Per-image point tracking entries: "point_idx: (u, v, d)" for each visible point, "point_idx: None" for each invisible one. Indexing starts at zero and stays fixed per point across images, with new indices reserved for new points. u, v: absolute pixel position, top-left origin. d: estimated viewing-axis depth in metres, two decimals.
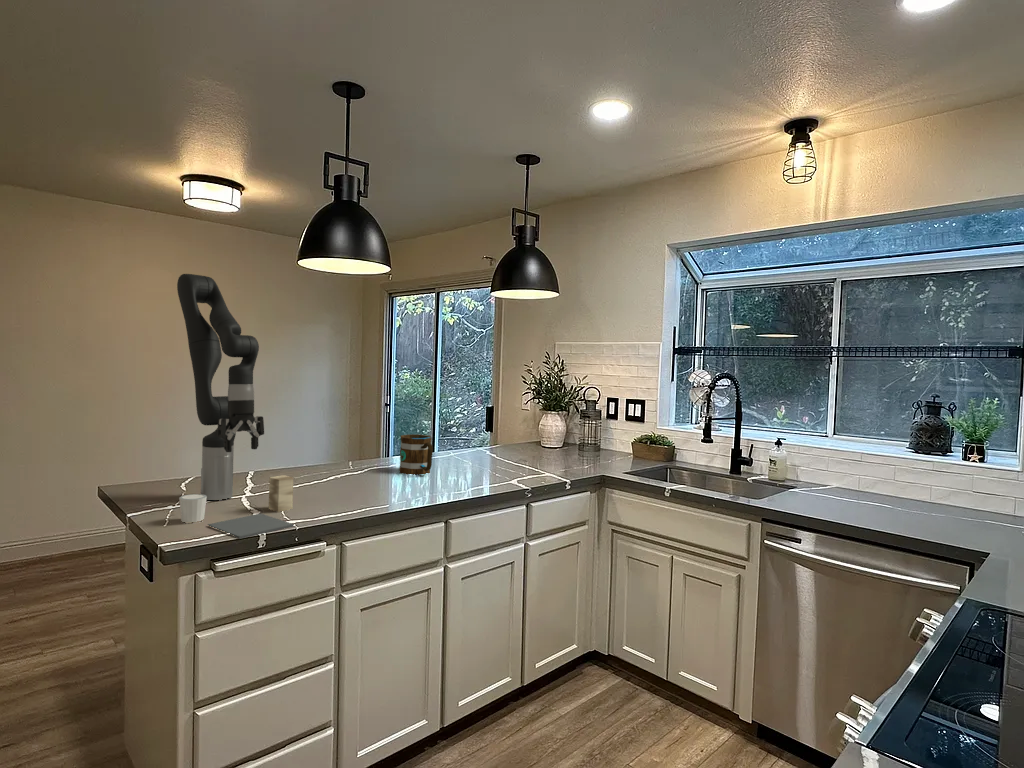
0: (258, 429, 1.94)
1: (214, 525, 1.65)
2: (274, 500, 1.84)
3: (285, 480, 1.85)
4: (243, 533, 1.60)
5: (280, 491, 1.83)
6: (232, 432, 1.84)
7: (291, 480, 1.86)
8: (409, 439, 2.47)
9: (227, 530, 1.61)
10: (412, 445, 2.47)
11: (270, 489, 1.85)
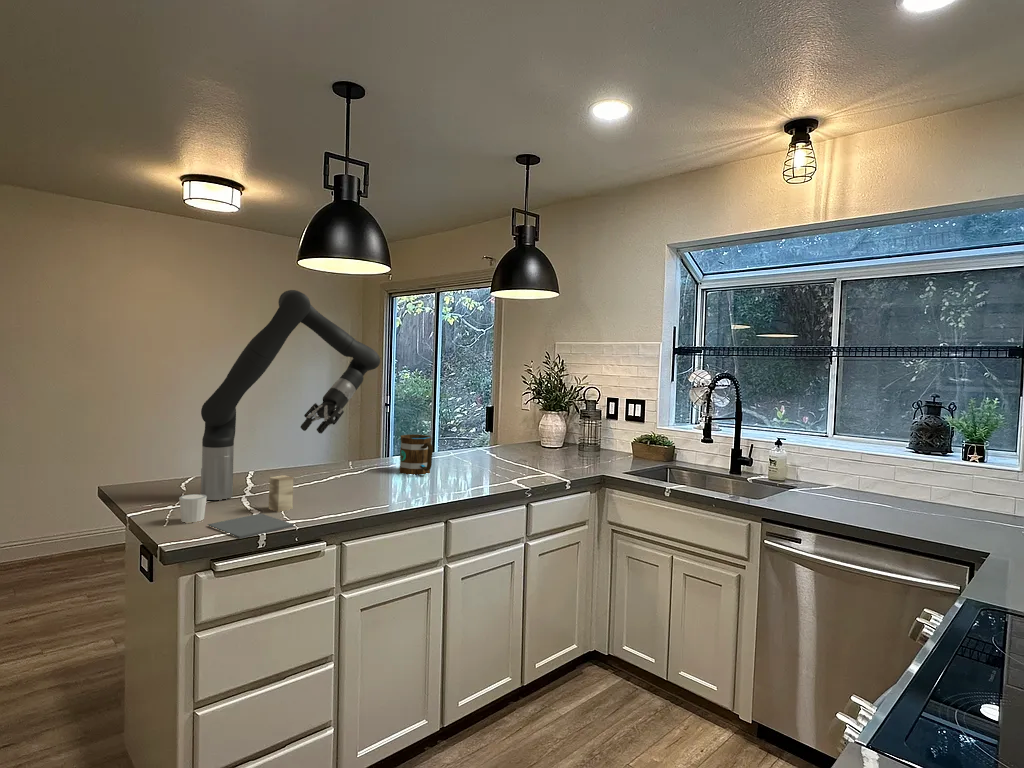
0: None
1: (214, 525, 1.65)
2: (274, 500, 1.84)
3: (285, 480, 1.85)
4: (243, 533, 1.60)
5: (280, 491, 1.83)
6: None
7: (291, 480, 1.86)
8: (409, 439, 2.47)
9: (227, 530, 1.61)
10: (412, 445, 2.47)
11: (270, 489, 1.85)
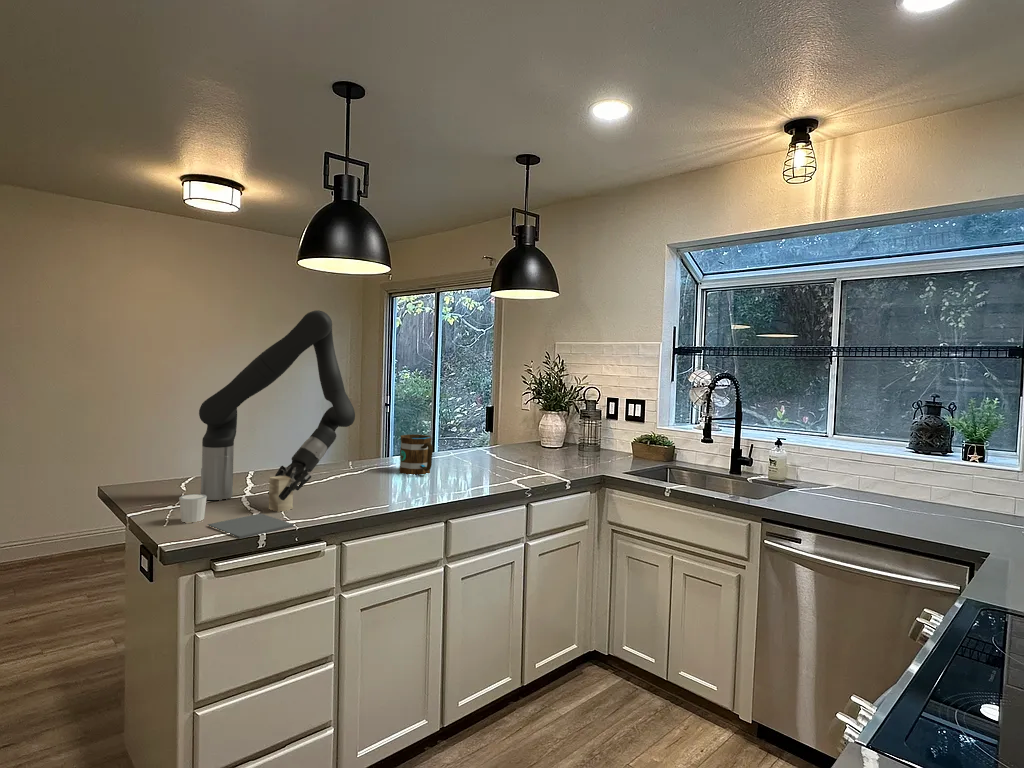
0: None
1: (214, 525, 1.65)
2: (274, 500, 1.84)
3: (285, 480, 1.85)
4: (243, 533, 1.60)
5: (280, 491, 1.83)
6: (296, 485, 1.88)
7: None
8: (409, 439, 2.47)
9: (227, 530, 1.61)
10: (412, 445, 2.47)
11: (270, 489, 1.85)
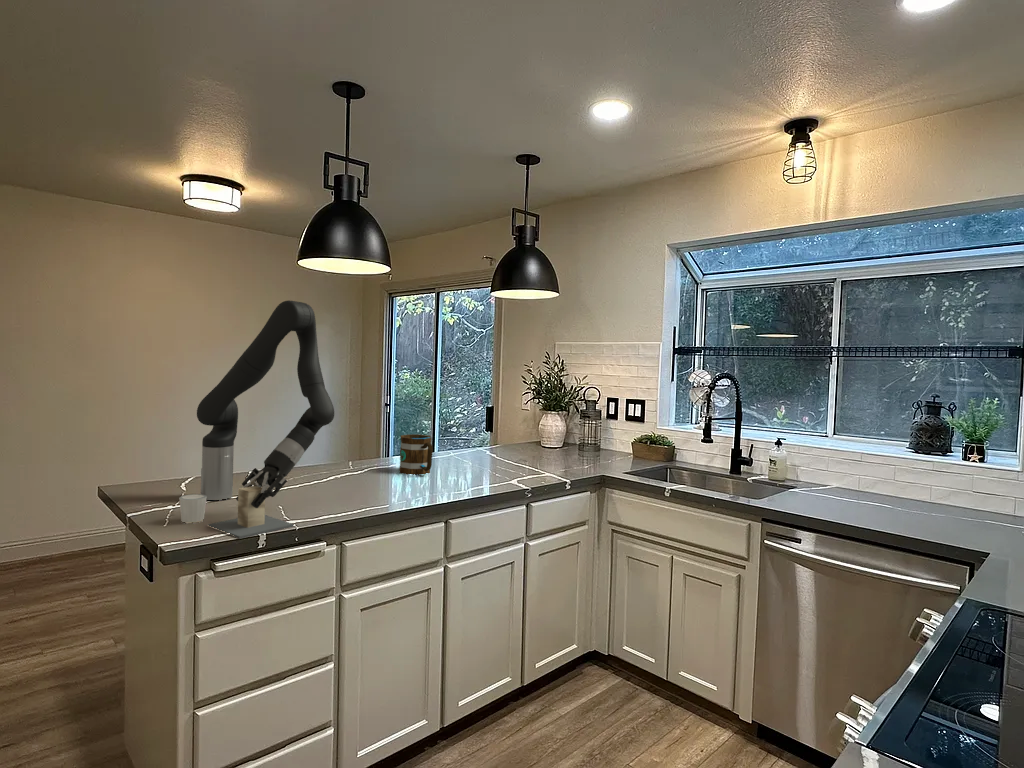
0: None
1: (214, 525, 1.65)
2: (244, 514, 1.65)
3: (256, 492, 1.66)
4: (243, 533, 1.60)
5: (249, 504, 1.65)
6: None
7: None
8: (409, 439, 2.47)
9: (227, 530, 1.61)
10: (412, 445, 2.47)
11: (239, 502, 1.67)
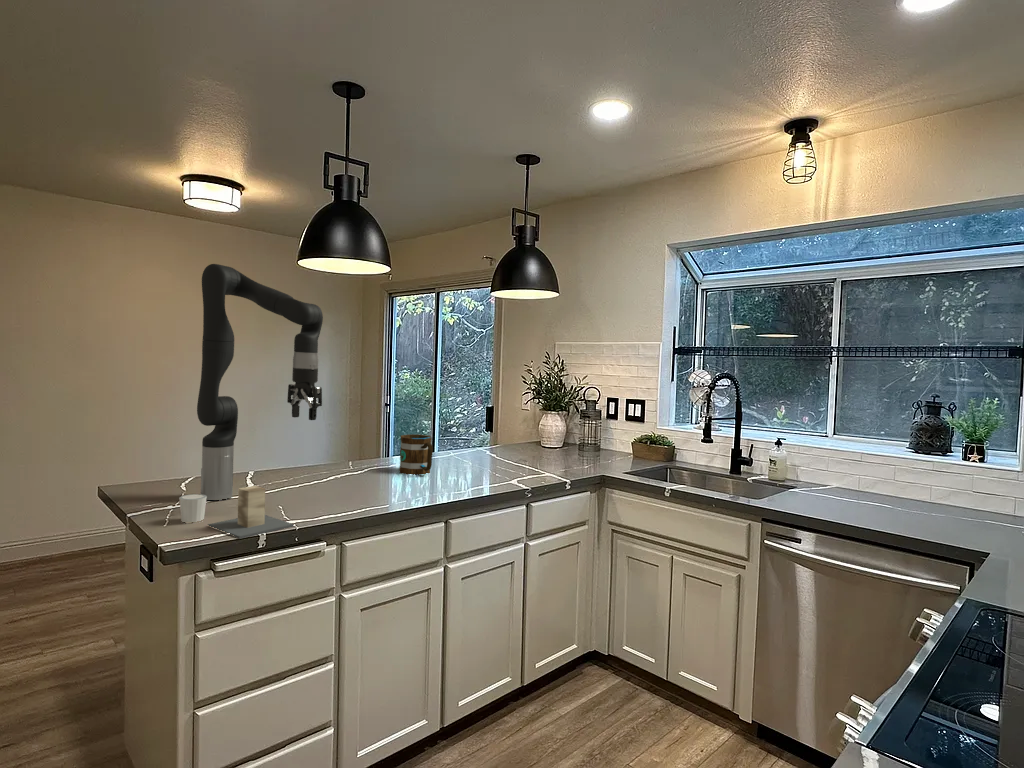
0: None
1: (214, 525, 1.65)
2: (244, 514, 1.65)
3: (256, 492, 1.66)
4: (243, 533, 1.60)
5: (249, 504, 1.65)
6: None
7: (263, 491, 1.68)
8: (409, 439, 2.47)
9: (227, 530, 1.61)
10: (412, 445, 2.47)
11: (239, 502, 1.67)
